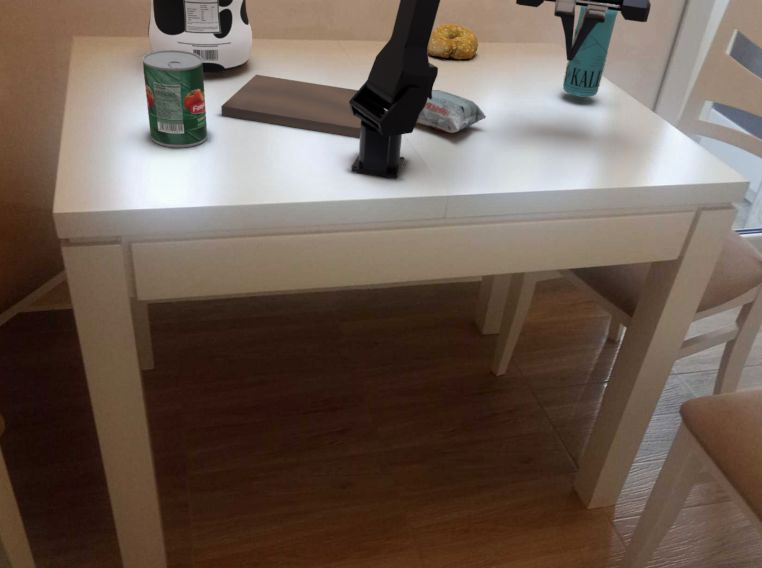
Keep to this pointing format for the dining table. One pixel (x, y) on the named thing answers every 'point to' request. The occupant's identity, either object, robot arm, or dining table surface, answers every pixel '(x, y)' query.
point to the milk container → (203, 31)
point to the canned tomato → (175, 98)
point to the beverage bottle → (589, 58)
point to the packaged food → (449, 112)
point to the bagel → (452, 42)
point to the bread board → (295, 105)
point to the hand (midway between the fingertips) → (569, 60)
